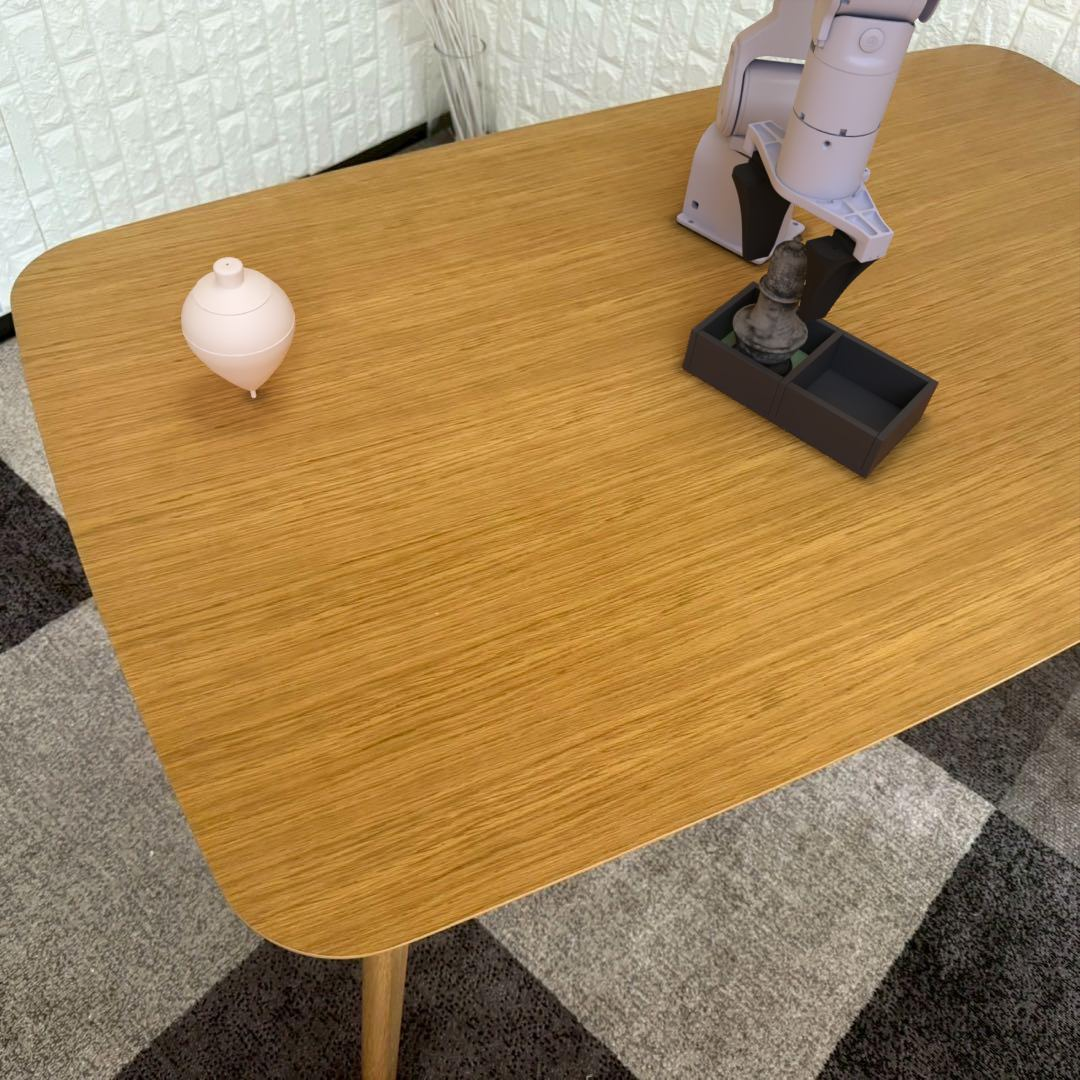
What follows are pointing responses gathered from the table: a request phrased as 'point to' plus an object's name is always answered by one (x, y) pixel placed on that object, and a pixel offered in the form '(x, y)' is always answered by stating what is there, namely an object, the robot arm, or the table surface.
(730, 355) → the divided box
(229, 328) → the spinning top
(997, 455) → the table surface
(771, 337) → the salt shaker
